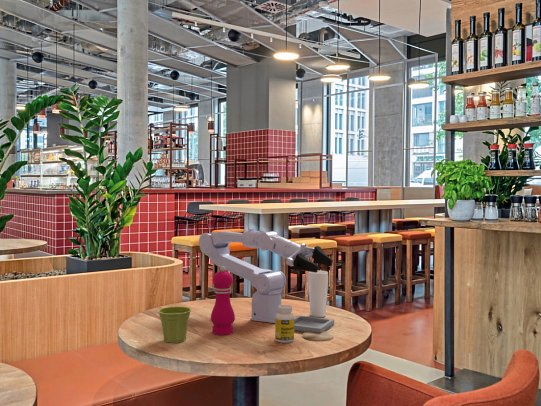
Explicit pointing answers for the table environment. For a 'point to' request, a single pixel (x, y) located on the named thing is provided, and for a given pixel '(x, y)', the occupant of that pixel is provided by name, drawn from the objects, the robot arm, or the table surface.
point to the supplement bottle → (284, 324)
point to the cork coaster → (318, 336)
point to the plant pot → (174, 323)
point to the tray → (312, 324)
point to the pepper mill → (222, 304)
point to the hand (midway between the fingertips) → (324, 266)
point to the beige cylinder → (318, 292)
